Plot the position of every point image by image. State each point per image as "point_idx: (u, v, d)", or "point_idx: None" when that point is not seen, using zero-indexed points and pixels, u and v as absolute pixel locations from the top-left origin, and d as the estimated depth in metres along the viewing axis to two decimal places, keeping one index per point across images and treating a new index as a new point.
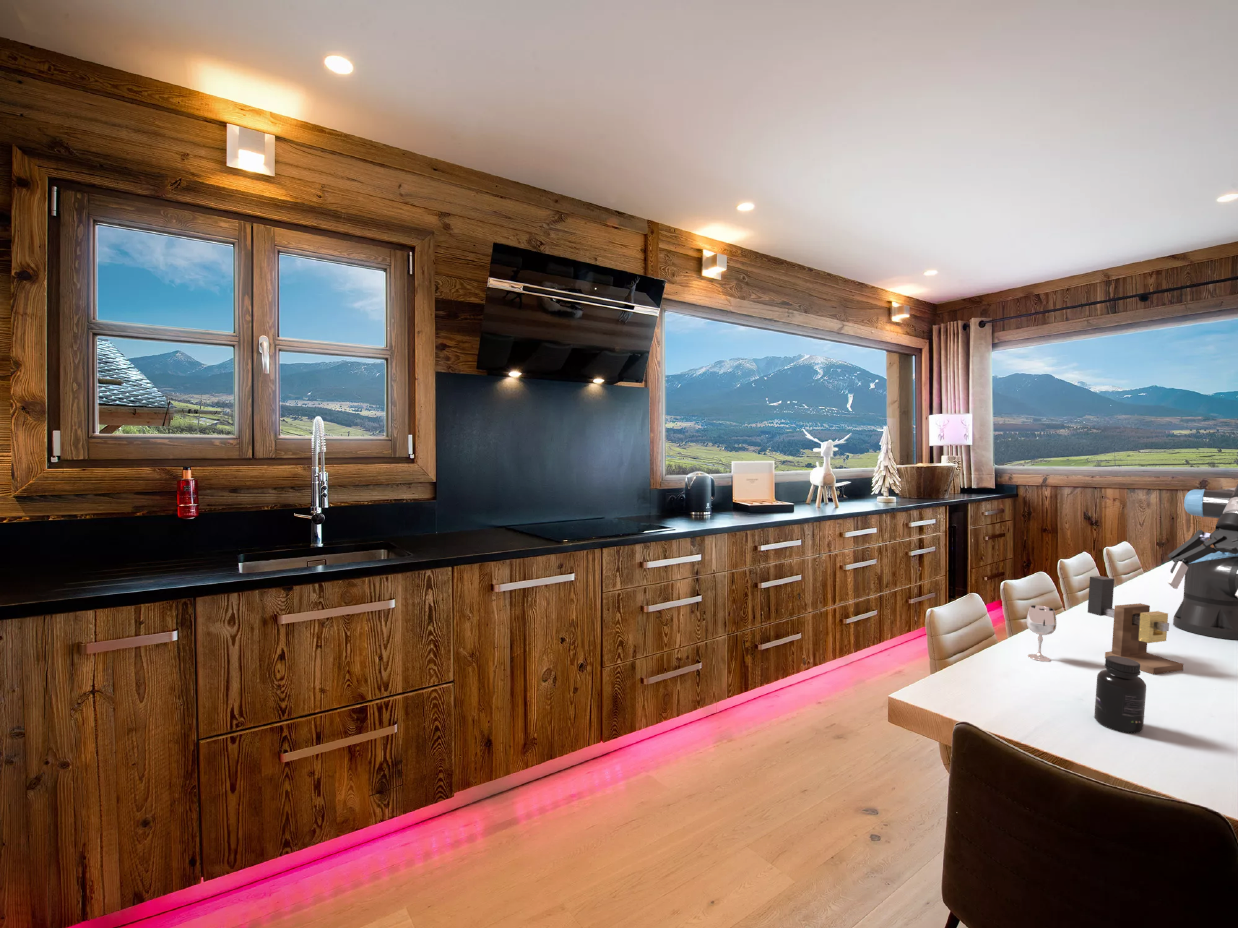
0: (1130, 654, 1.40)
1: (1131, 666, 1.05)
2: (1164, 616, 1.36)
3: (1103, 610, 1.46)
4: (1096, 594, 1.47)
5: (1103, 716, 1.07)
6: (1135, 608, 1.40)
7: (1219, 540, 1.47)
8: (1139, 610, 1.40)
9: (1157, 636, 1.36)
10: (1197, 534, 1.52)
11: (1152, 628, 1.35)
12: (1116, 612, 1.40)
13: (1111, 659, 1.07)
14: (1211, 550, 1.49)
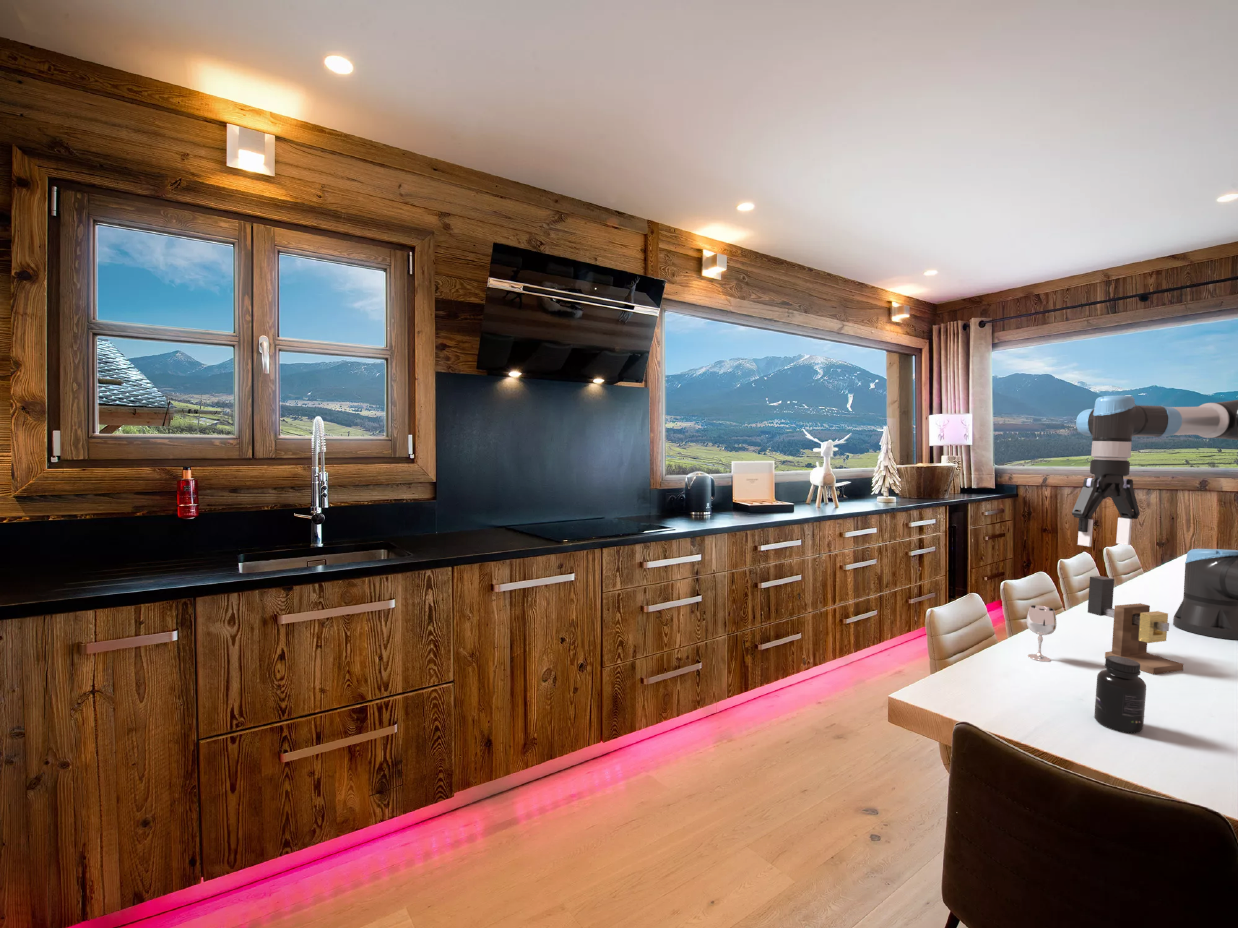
0: (1130, 654, 1.40)
1: (1131, 666, 1.05)
2: (1164, 616, 1.36)
3: (1103, 610, 1.46)
4: (1096, 594, 1.47)
5: (1103, 716, 1.07)
6: (1135, 608, 1.40)
7: None
8: (1139, 610, 1.40)
9: (1157, 636, 1.36)
10: None
11: (1152, 628, 1.35)
12: (1116, 612, 1.40)
13: (1111, 659, 1.07)
14: (1118, 497, 1.47)
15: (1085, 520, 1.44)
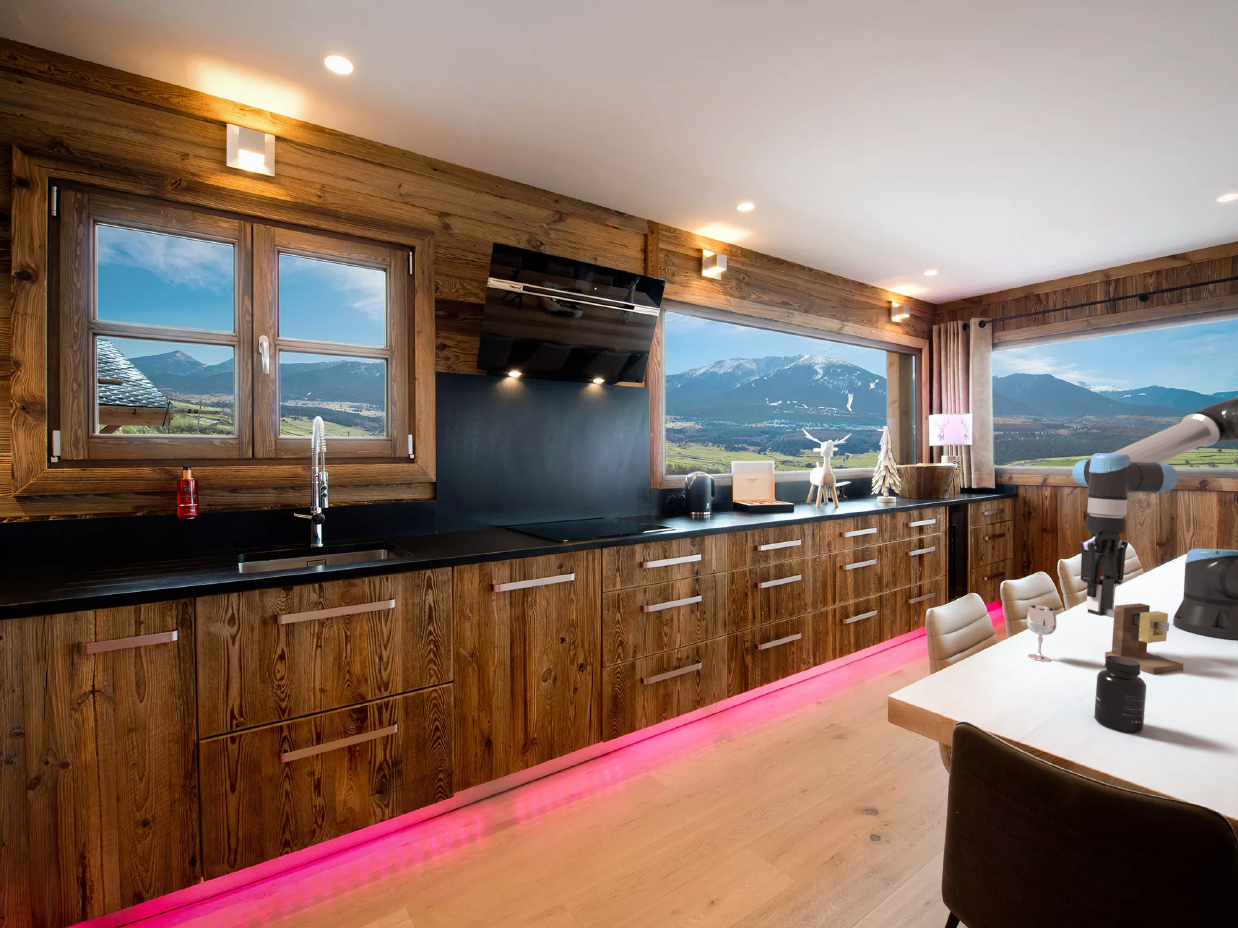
0: (1130, 654, 1.40)
1: (1131, 666, 1.05)
2: (1164, 616, 1.36)
3: (1103, 610, 1.46)
4: None
5: (1103, 716, 1.07)
6: (1135, 608, 1.40)
7: None
8: (1139, 610, 1.40)
9: (1157, 636, 1.36)
10: None
11: (1152, 628, 1.35)
12: (1116, 612, 1.40)
13: (1111, 659, 1.07)
14: (1109, 555, 1.47)
15: (1094, 585, 1.46)
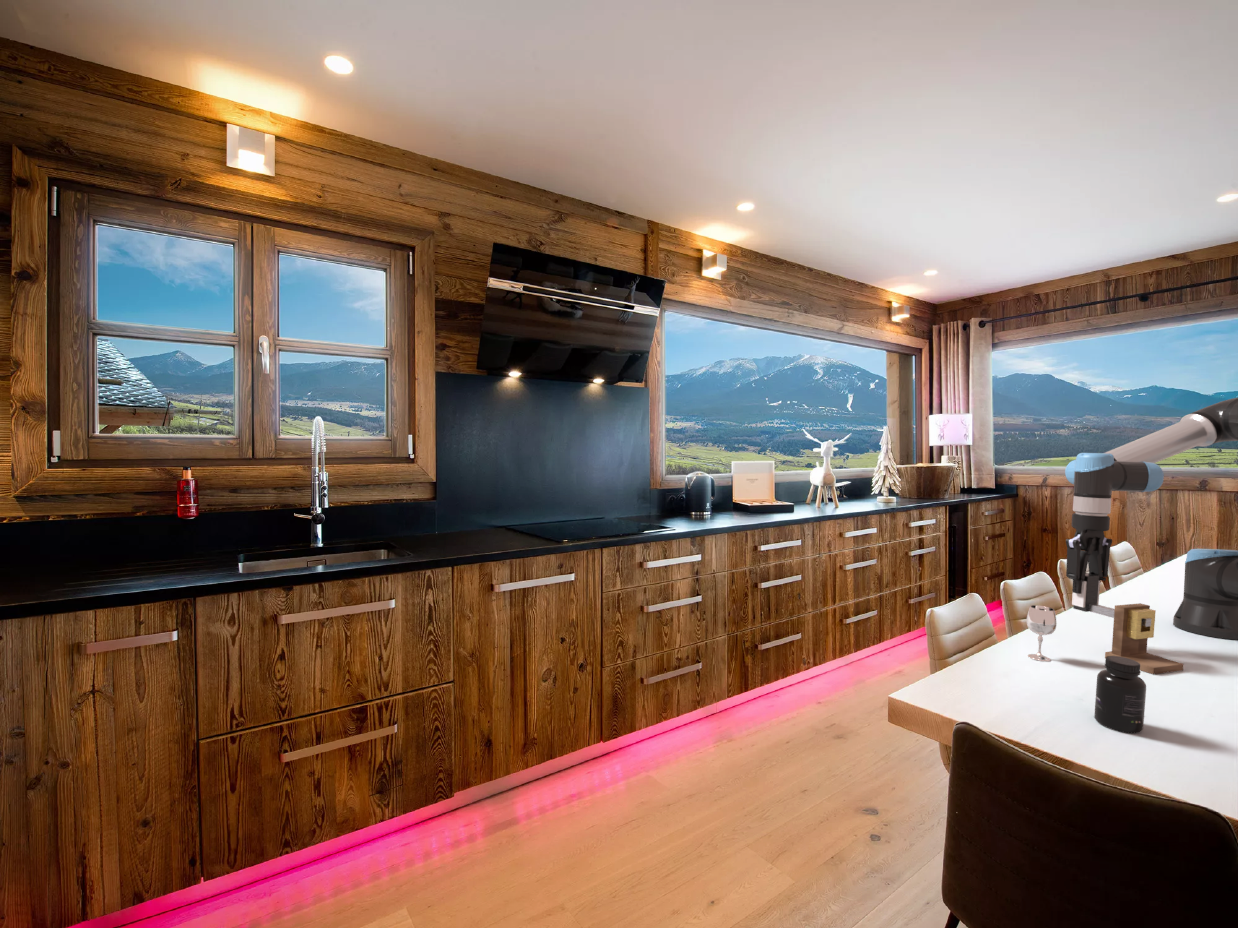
0: (1130, 654, 1.40)
1: (1131, 666, 1.05)
2: (1151, 613, 1.39)
3: (1088, 606, 1.49)
4: None
5: (1103, 716, 1.07)
6: (1135, 608, 1.40)
7: None
8: None
9: (1144, 632, 1.38)
10: None
11: (1140, 625, 1.38)
12: (1116, 612, 1.40)
13: (1111, 659, 1.07)
14: (1094, 553, 1.51)
15: (1079, 582, 1.49)
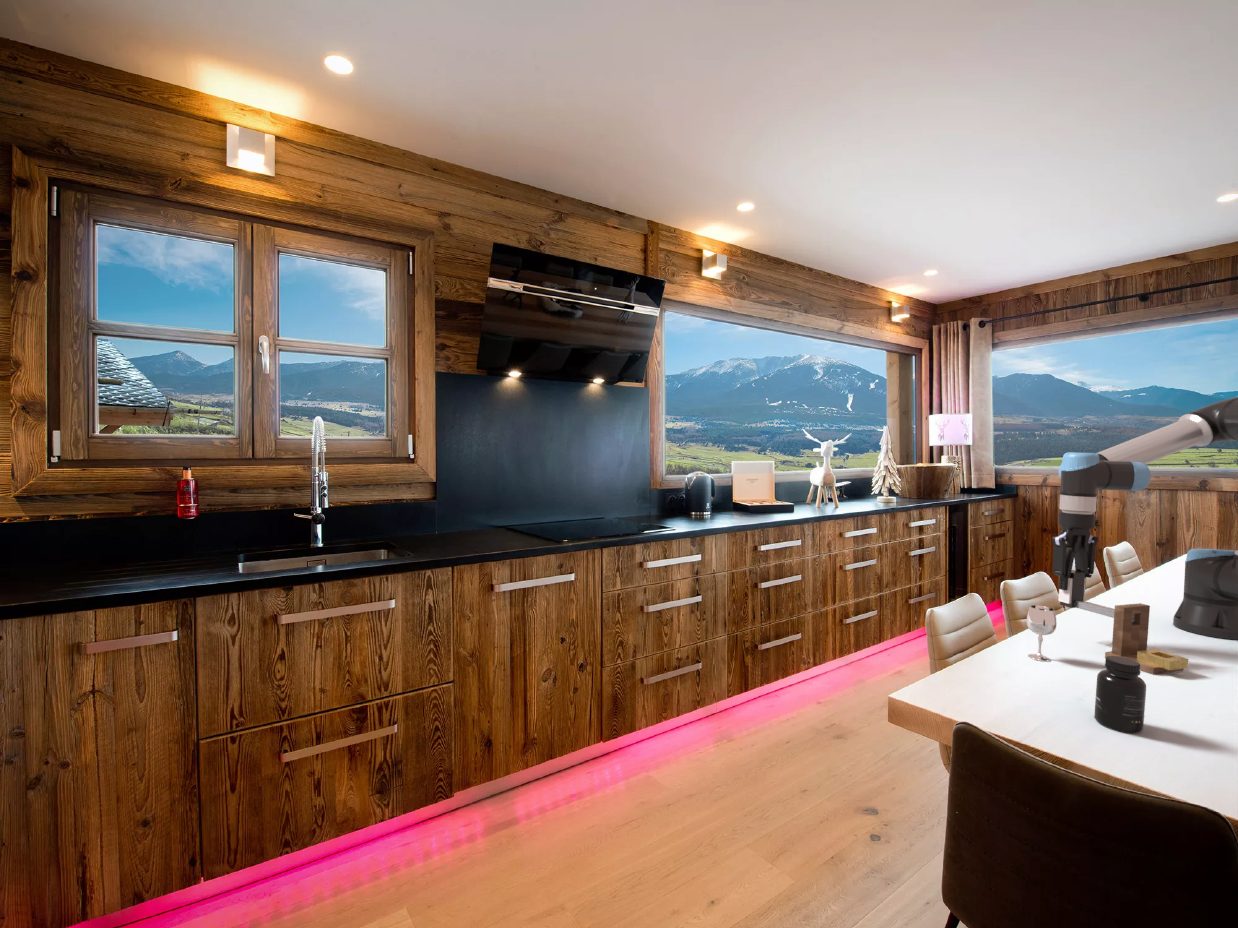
0: (1130, 654, 1.40)
1: (1131, 666, 1.05)
2: None
3: (1074, 602, 1.53)
4: None
5: (1103, 716, 1.07)
6: (1135, 608, 1.40)
7: None
8: (1139, 610, 1.40)
9: None
10: None
11: None
12: (1116, 612, 1.40)
13: (1111, 659, 1.07)
14: (1080, 550, 1.54)
15: (1065, 579, 1.52)
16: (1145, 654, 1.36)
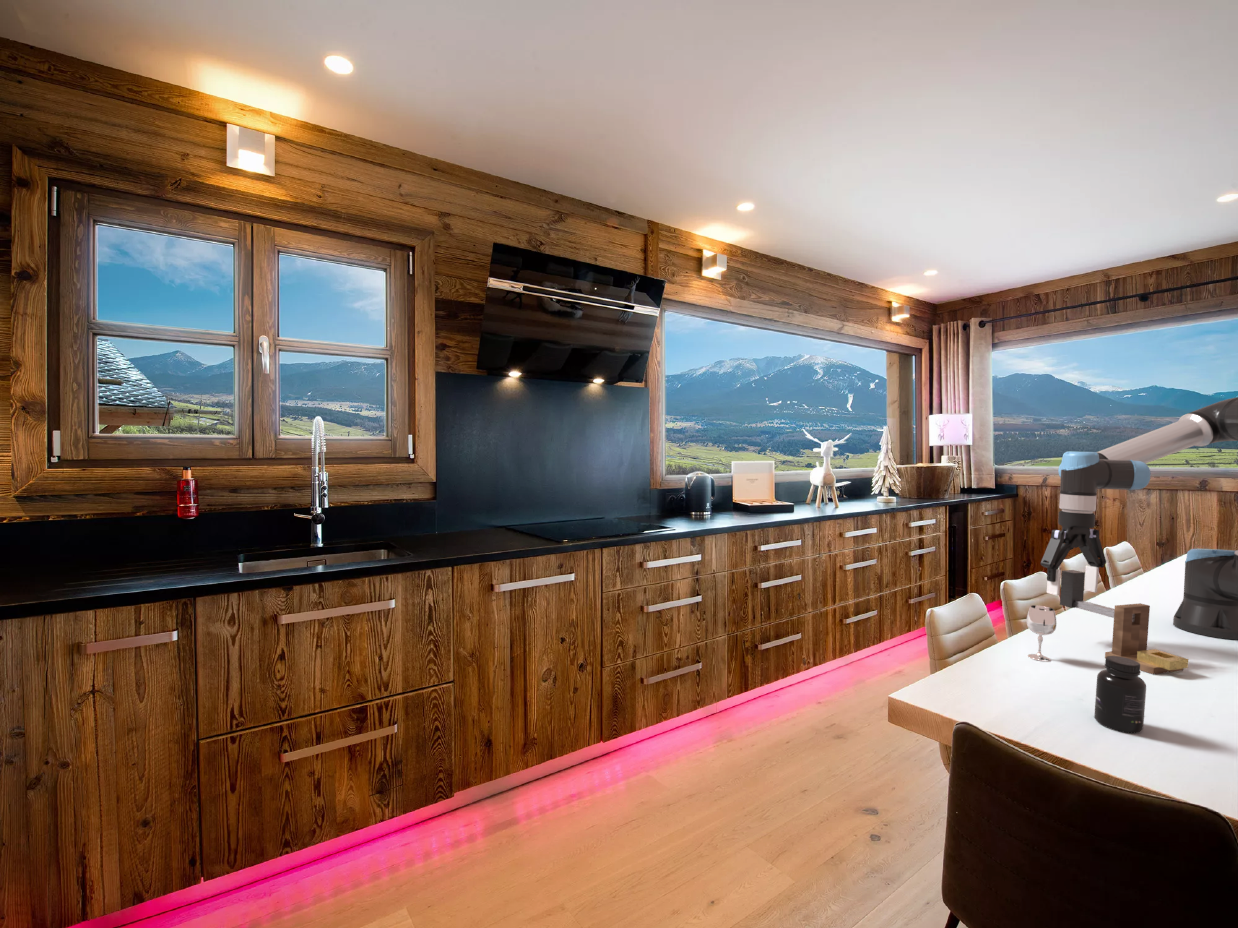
0: (1130, 654, 1.40)
1: (1131, 666, 1.05)
2: None
3: (1074, 602, 1.53)
4: (1068, 587, 1.53)
5: (1103, 716, 1.07)
6: (1135, 608, 1.40)
7: None
8: (1139, 610, 1.40)
9: None
10: None
11: None
12: (1116, 612, 1.40)
13: (1111, 659, 1.07)
14: (1085, 547, 1.54)
15: (1053, 570, 1.51)
16: (1145, 654, 1.36)
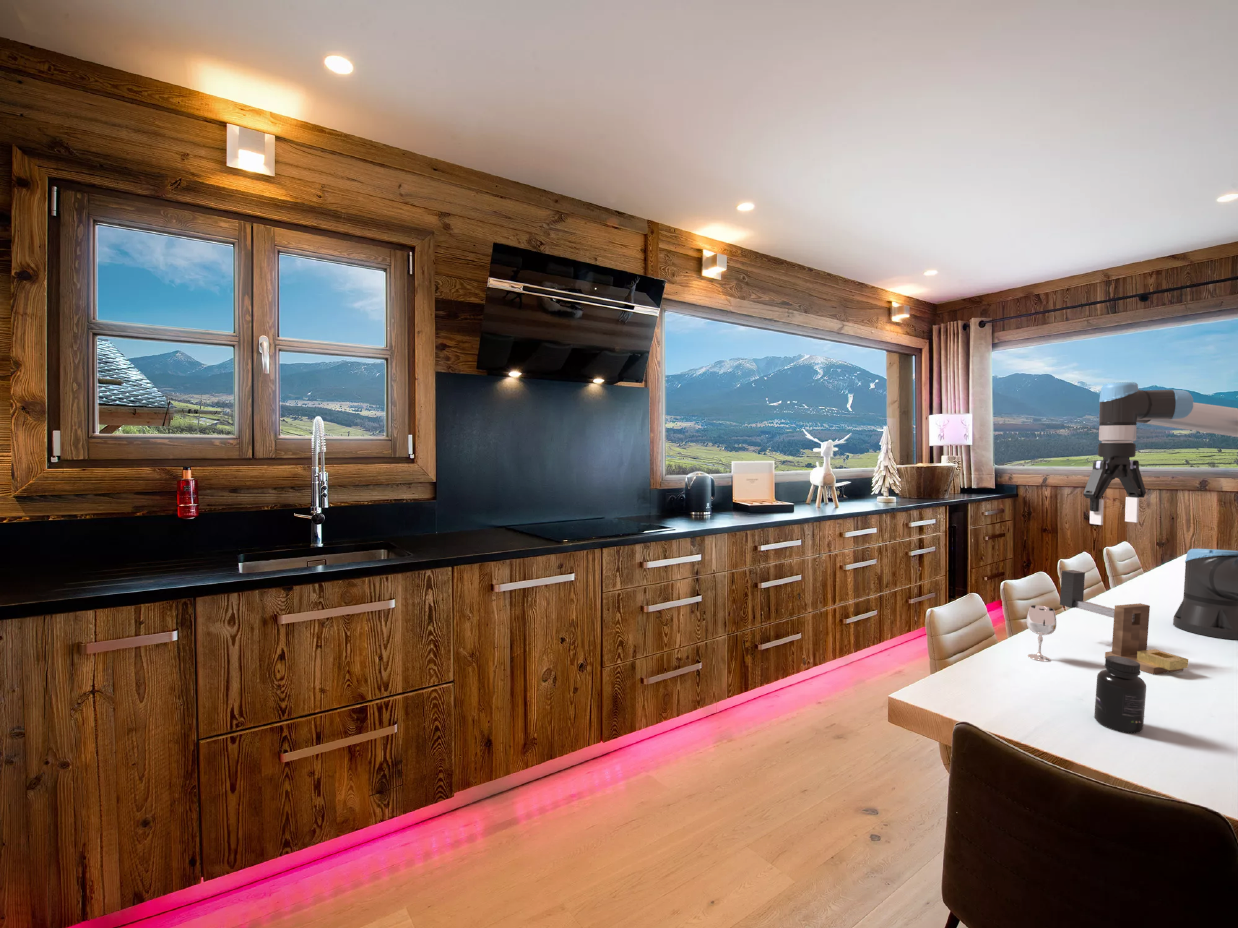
0: (1130, 654, 1.40)
1: (1131, 666, 1.05)
2: None
3: (1074, 602, 1.53)
4: (1068, 587, 1.53)
5: (1103, 716, 1.07)
6: (1135, 608, 1.40)
7: None
8: (1139, 610, 1.40)
9: None
10: None
11: None
12: (1116, 612, 1.40)
13: (1111, 659, 1.07)
14: (1125, 478, 1.56)
15: (1096, 500, 1.53)
16: (1145, 654, 1.36)
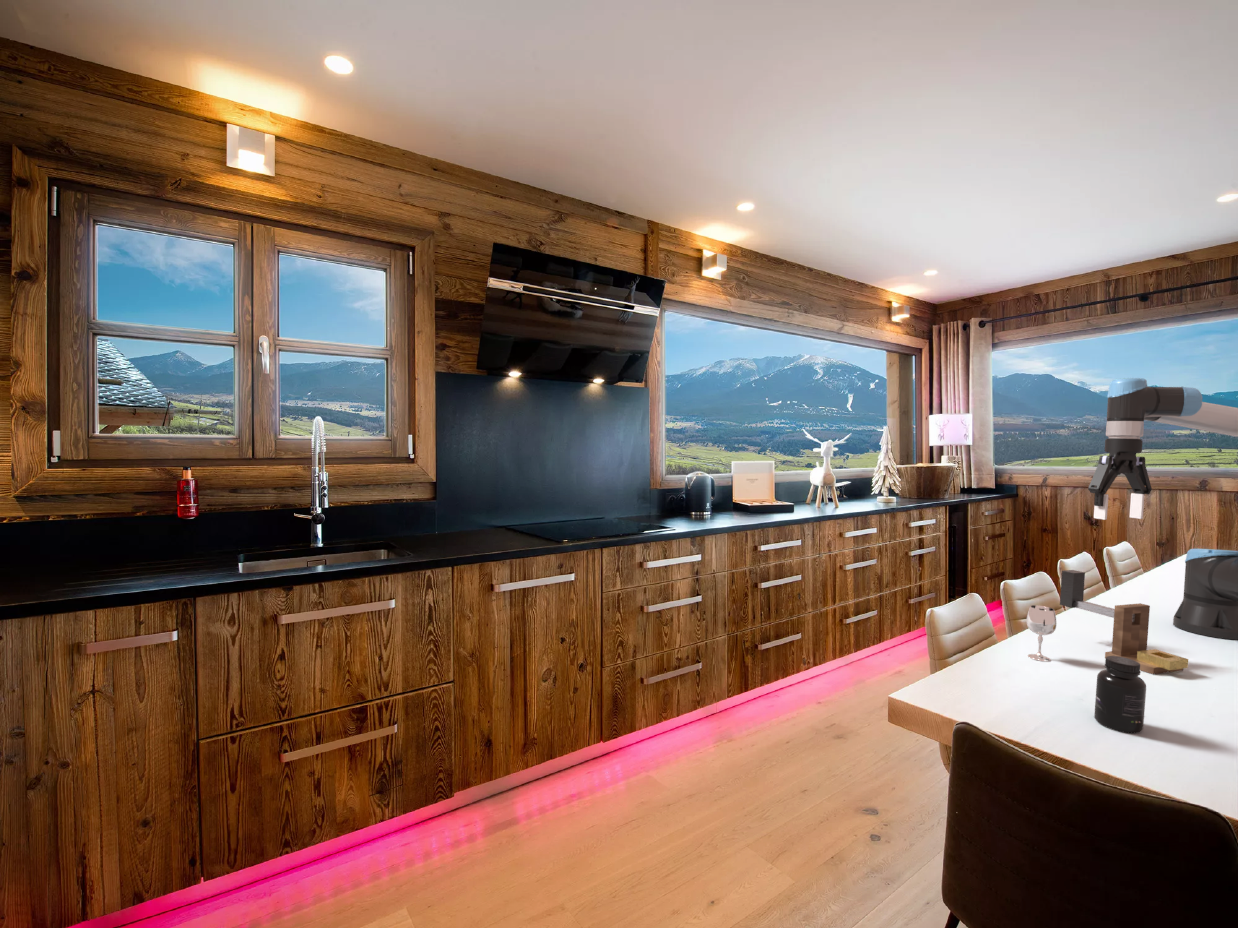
0: (1130, 654, 1.40)
1: (1131, 666, 1.05)
2: None
3: (1074, 602, 1.53)
4: (1068, 587, 1.53)
5: (1103, 716, 1.07)
6: (1135, 608, 1.40)
7: None
8: (1139, 610, 1.40)
9: None
10: None
11: None
12: (1116, 612, 1.40)
13: (1111, 659, 1.07)
14: (1131, 474, 1.57)
15: (1101, 495, 1.53)
16: (1145, 654, 1.36)
